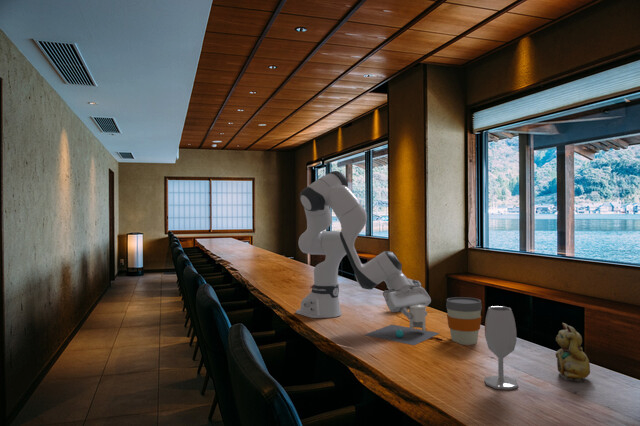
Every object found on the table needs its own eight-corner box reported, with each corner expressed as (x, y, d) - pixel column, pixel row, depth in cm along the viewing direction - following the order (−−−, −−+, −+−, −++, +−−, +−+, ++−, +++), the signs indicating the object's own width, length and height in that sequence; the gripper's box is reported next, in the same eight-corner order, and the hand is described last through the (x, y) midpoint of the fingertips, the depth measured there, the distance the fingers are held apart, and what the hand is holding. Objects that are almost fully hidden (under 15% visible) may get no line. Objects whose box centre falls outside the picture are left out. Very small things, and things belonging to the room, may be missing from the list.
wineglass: (478, 379, 129) (477, 305, 129) (508, 377, 130) (507, 304, 130) (493, 391, 120) (491, 312, 120) (524, 389, 121) (523, 311, 121)
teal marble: (394, 337, 171) (393, 329, 170) (398, 336, 173) (398, 328, 173) (401, 339, 169) (400, 331, 169) (405, 337, 171) (405, 329, 171)
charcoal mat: (363, 336, 175) (363, 334, 175) (391, 325, 191) (391, 324, 190) (414, 346, 161) (414, 345, 161) (440, 334, 176) (440, 333, 176)
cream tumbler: (406, 329, 177) (406, 306, 176) (414, 326, 181) (414, 303, 181) (420, 331, 173) (420, 308, 173) (428, 328, 177) (427, 305, 177)
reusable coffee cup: (444, 344, 163) (444, 302, 163) (448, 335, 175) (447, 296, 175) (481, 347, 158) (481, 304, 158) (483, 338, 170) (482, 298, 170)
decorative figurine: (551, 371, 135) (550, 320, 135) (581, 371, 134) (580, 320, 134) (565, 383, 125) (565, 328, 125) (597, 384, 124) (596, 329, 124)
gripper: (384, 286, 177) (402, 316, 169) (422, 280, 188) (440, 308, 180) (377, 295, 181) (394, 325, 173) (414, 290, 192) (432, 317, 184)
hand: (418, 316), depth 176 cm, fingers closed on cream tumbler, 6 cm apart
